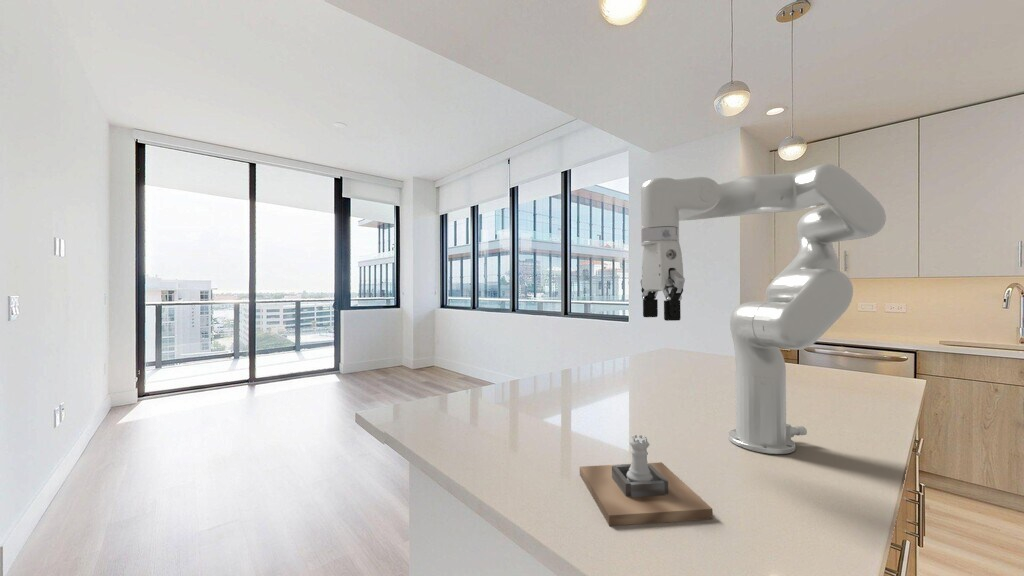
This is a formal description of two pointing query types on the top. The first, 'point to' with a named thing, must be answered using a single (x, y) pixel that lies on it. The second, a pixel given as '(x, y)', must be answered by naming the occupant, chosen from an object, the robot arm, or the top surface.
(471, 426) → the top surface
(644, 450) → the rook chess piece
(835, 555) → the top surface
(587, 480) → the jig board
